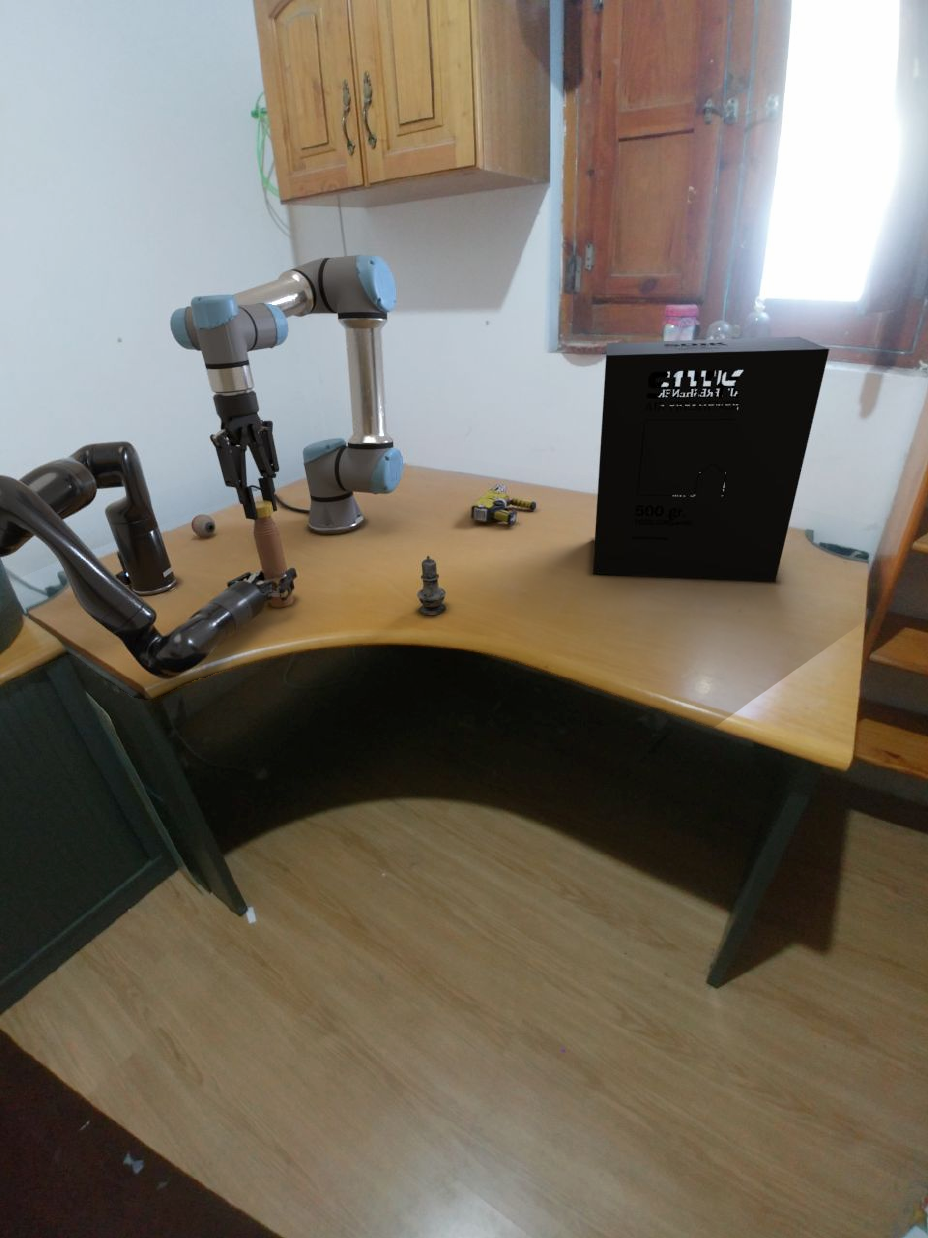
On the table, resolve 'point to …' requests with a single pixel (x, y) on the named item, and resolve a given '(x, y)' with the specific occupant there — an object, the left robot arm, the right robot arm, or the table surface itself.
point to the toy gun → (498, 506)
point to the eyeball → (203, 525)
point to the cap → (264, 508)
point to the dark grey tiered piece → (431, 589)
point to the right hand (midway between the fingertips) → (261, 514)
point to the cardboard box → (703, 455)
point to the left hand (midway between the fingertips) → (282, 570)
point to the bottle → (270, 554)
